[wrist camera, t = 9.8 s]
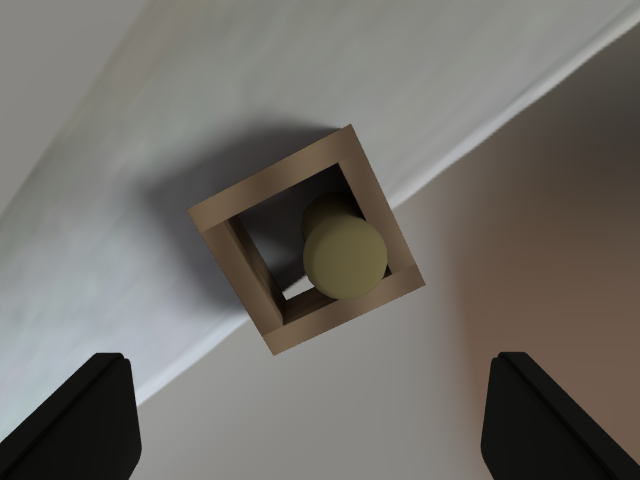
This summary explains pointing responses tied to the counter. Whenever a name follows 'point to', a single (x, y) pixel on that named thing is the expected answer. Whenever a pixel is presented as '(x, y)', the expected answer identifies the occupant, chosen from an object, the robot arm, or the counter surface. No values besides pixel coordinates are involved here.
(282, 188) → the box
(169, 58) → the counter surface
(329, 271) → the cork
